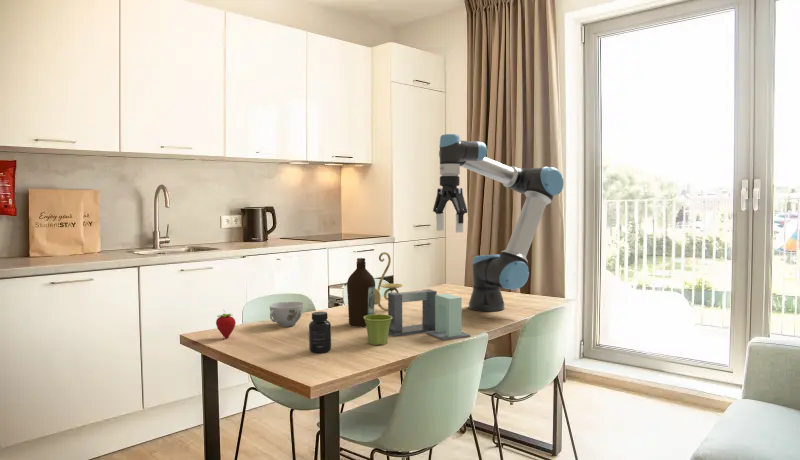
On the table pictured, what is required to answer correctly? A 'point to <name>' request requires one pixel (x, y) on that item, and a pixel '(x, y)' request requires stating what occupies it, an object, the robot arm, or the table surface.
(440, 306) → the mint green u-shaped block
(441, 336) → the gray rectangular panel
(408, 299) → the stand
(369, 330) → the plant pot
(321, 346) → the supplement bottle
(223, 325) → the strawberry
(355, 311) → the olive oil
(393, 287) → the wall sconce
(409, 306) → the table surface
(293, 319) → the teacup
